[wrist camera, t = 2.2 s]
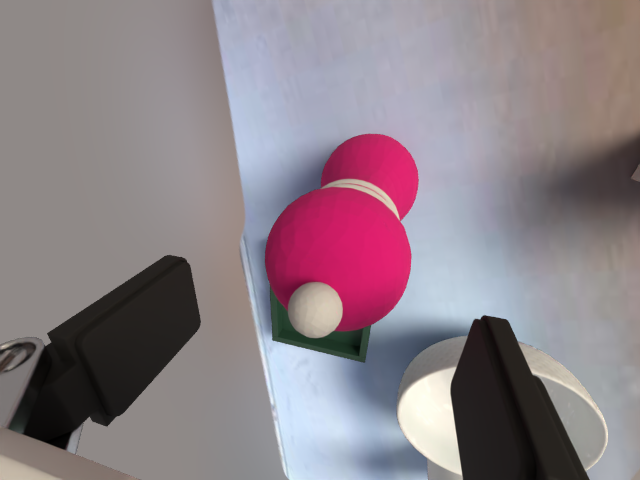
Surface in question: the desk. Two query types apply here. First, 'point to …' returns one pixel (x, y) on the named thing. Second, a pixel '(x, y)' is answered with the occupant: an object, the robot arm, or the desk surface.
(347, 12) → the desk surface
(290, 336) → the tray
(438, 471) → the pill bottle
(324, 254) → the pepper mill
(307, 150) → the desk surface
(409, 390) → the cereal bowl
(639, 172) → the printed tea carton
